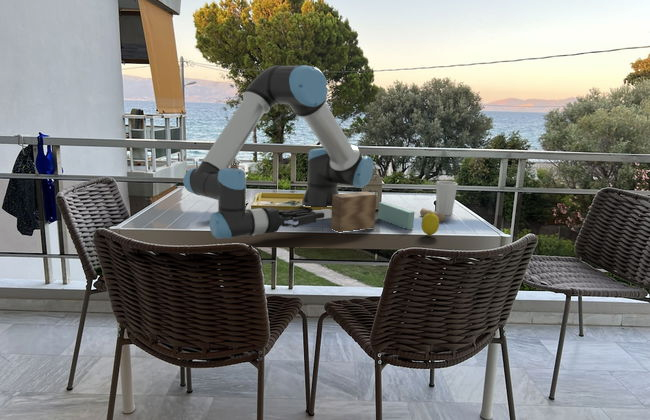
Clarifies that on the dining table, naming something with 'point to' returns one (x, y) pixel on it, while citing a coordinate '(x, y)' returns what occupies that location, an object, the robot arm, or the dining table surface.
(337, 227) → the slab
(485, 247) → the dining table surface
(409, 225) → the rail
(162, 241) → the dining table surface
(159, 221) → the dining table surface
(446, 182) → the cup
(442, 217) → the roller
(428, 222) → the lemon
